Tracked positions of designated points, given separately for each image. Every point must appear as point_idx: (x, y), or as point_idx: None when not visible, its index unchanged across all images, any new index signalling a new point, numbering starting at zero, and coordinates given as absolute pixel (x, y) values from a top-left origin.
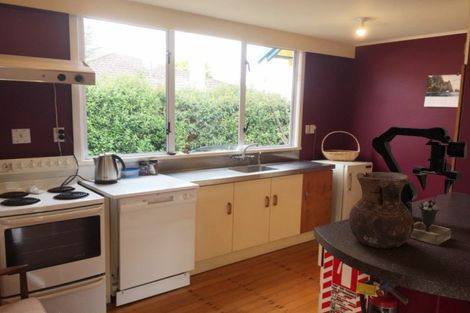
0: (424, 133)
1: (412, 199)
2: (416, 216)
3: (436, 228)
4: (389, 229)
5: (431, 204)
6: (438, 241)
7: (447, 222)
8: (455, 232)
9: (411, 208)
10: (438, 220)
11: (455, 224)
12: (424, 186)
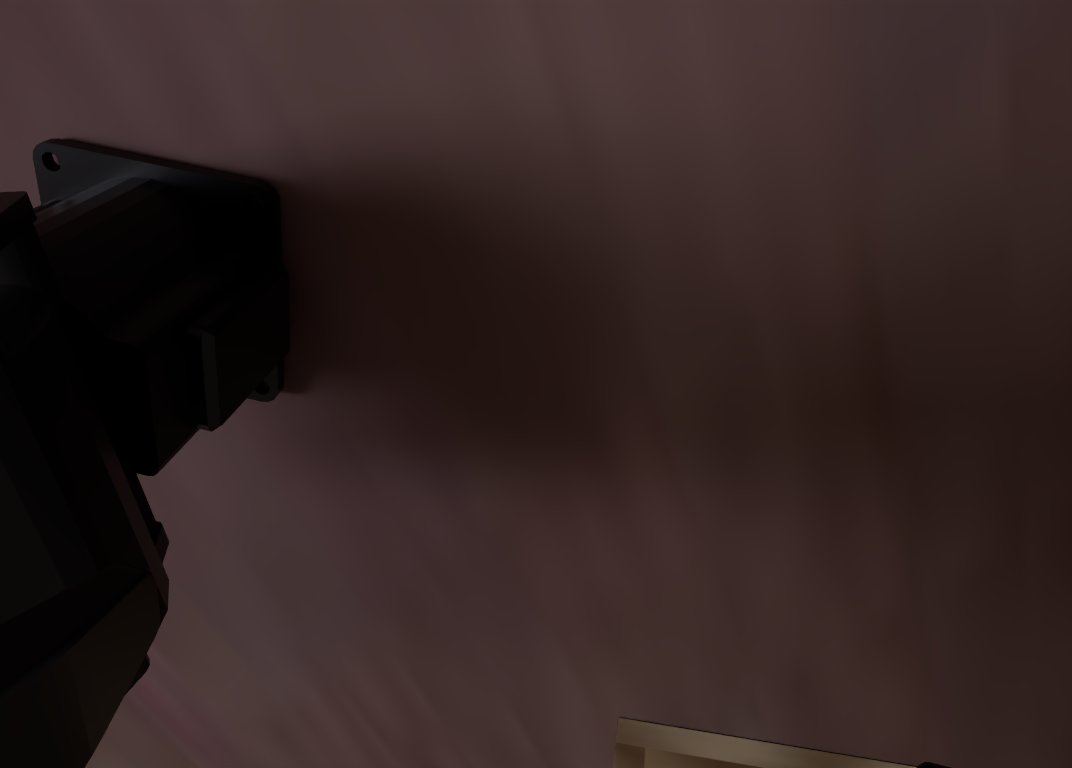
0: None
1: (147, 529)
2: (298, 109)
3: None
4: None
5: None
6: None
7: (847, 84)
8: (1025, 565)
9: (222, 362)
10: (674, 71)
11: (1004, 114)
12: (58, 745)
